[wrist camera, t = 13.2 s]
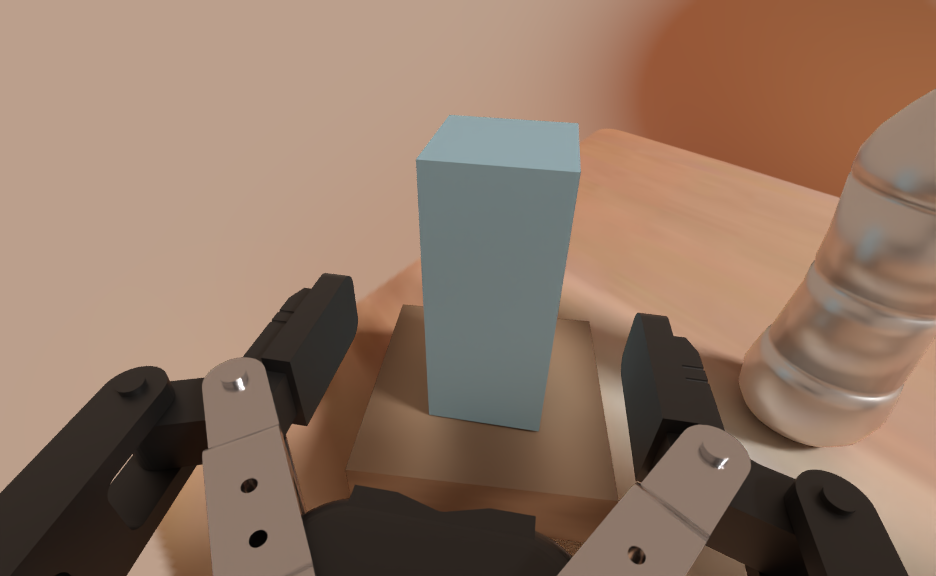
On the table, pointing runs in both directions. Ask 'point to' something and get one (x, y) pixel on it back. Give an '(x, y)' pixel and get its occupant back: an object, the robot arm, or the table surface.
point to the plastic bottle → (857, 297)
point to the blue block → (494, 262)
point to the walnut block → (491, 441)
